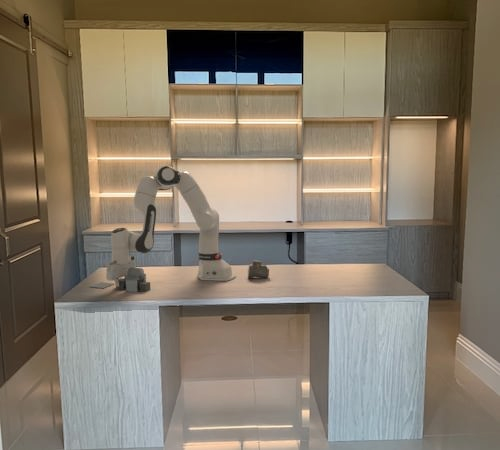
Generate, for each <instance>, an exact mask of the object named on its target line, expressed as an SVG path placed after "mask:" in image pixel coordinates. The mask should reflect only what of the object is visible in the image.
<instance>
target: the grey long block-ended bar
mask: <svg viewBox="0 0 500 450" xmlns="http://www.w3.org/2000/svg"><path fill="white" fill-rule="evenodd" d="M118 281H119V283H120V285H121V286H119V287H117V286H116V283H115V282H114V285H115V289H116V290H117V289H118V290H126V279H124V277H121V278H119V280H118ZM137 289H138V292H145V293H147V292H149V291H150V290H151V282H150V281H146V282H141V283H139V284H137Z"/></svg>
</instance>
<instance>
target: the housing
mask: <svg viewBox="0 0 500 450" xmlns="http://www.w3.org/2000/svg"><path fill="white" fill-rule="evenodd" d="M127 275H128V276H127V277H126V289H125V290H126V291H125V292H131V293H137V292H139V291H138V289H137V284H139V283H141V282H147V273H145V270H144V268H142V267H136V268H134V267H130V268H129V269H128V272H127Z"/></svg>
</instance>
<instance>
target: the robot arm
mask: <svg viewBox="0 0 500 450" xmlns="http://www.w3.org/2000/svg"><path fill="white" fill-rule="evenodd" d="M172 187H175V188H176V189H177V190H178V191H179V193H180V195H181V196H182V198H183V200H184V201H185V203H186V204H187V206H188V208H189V210H190V212H191V215H192V217H193V218H194V220H195V223H196V225H197V227H198V228H199V238H198V250H199V251H198V262H199V263H198V270H197V271H198V272H197V275H196V277H197V279H200V281H214V282H215V281H216V282H217V281H218V282H219V281H220V282H228V281H231V280H233V279H235V278H237V275H236V273H233V270H232V269H233V268H232V266H231V265H230V264H229V263H227V261H225V260H224V259H222V256H223V253H220V251H219V235H220V234H219V232H220V215H219V213H218V211H217V210H216V209H214V208H212V207H211V206H210V203H209V202H208V200H207V197H206V195H205V193H204V191H203V190H202V189H201V187H200V185H199V184H198V182H197V181H196V180H195V178H194V177H193V176H192V175H191V173H189V172H188V171H178V170H177V169H176V168H174V167H172V166H169V165H168V166H167V165H165V166H162V167H160V168H159V169H158V171H157V172H156V174H155V175H154V176H152V175H145V176H142V177H141V179H140V180H139V183H138V184H137V188H136V191H135V193H134V196H133V197H134V198H133V204H134V207H135V208H136V209H137V211H139V212H140V213H142V215H143V225H142V231H141V233H139V232H133V231H131V230H128V229H127V228H126V227H118V228H117V227H116V228H114V229H113V230H112V231H111V236H110V246H111V262H109V263H108V264H107V267H106V276H105V277H106V280H107V281H114V284H115V283H116V284H115V287H116V286H117V287H119V286H121V285H120V283H119V281H118V280H119V279H120V278H123V279H126V277H127V276H128V275H127V272H128V269H129V268H130V267H134V268H137V265H136V261H135V260H136V256H135V255H131V254H130V251H133V252H138V253H141V254H149V252H151V250H153V248H154V245H155V238H154V237H155V235H154V234H155V228H156V227H155V226H156V220H157V208H156V205H155V204H156V203H155V202H156V198H157V194H158V191H168V190H170V189H171V188H172Z"/></svg>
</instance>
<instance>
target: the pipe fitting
mask: <svg viewBox="0 0 500 450" xmlns="http://www.w3.org/2000/svg"><path fill="white" fill-rule="evenodd" d="M269 276H270V269H269V267H268V266H267V264H263V263H262V261H260V260H252V263H250V264H249V265H248V269H247V278H248V279H253V278H262V279H268V278H269Z"/></svg>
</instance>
